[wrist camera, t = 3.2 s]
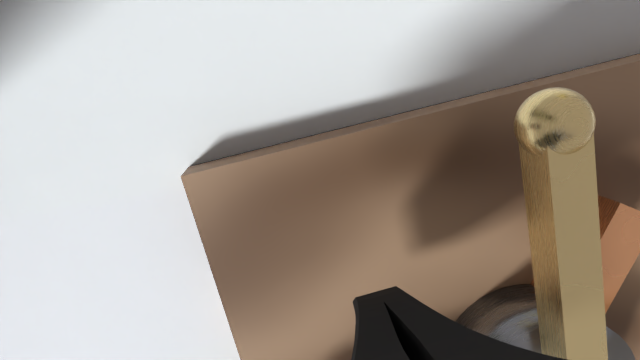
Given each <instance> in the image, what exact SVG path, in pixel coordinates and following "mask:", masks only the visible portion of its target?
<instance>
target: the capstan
mask: <svg viewBox="0 0 640 360" xmlns="http://www.w3.org/2000/svg"><path fill="white" fill-rule="evenodd" d="M595 125H596V117H595V113H594V110H593V108H592V106H591V104H590V103H589V101H588V100H587V99H586V98H585V97H584V96H583V95H581V94H579V93H578V92H576V91H574V90H571V89H567V88H560V87H555V88H547V89H543V90H540V91H538V92H536V93H534V94H532V95H531V96H529V97H528V98H527V99H526V100H525V101H524V102H523V103H522V104H521V105H520V107H519V109H518V110H517V112H516V115H515V118H514V134H515V137H516V139H517V141H518V143H519V151H520V160H521V169H522V178H523V187H524V196H525V205H526V214H527V223H528V232H529V242H530V251H531V260H532V269H533V280H532V282H531V284H518V285H511V286H507V287H503V288H500V289H498V290H495V291H493V292H491V293H489V294H486V295H485V296H483V297H481V298H480V299H478V300H477V301H475V302H474V303H473V304H472V305H470V306H469V307H468V308H467V309H466V310H465V311H464V312H463V313H462V314H461V315H460V316H459V317H458V319H457V320H456V321H455V322H457V323H459V324H461V325H463V326H465V327H467V328H469V329H471V330H474V331H476V332H478V333H481V334H483V335H486V336H488V337H491V338H494V339H496V340H499V341H501V342H504V343H507V344H510V345H513V346H517V347H520V348H523V349H527V350H530V351H534V352H537V353H541V354H545V355H549V356H553V357H558V358H563V359H568V360H636V359H635V357H634V355H633V352H632V350H631V349H630V347H629V346H628V344H627V343H626V342H625V341H624V340H623V339H622V338H621V337H620V336H619V335H618V334H617V333H615V332H614V331H612V330H611V329H610V328H608V327H607V326H606V319H605V314H606V312H607V310H608V308H609V307H610V305H611V303H612V301H613V299H614V298H615V296H616V294H617V292H618V291H619V289H620V287H621V285H622V283H623V282H624V280H625V278H626V276H627V275H628V273H629V271H630V269H631V267H632V266H633V264H634V262H635V260H636V259H637V257H638V255H639V253H640V211H639V210H636V209H634V208H632V207H629V206H627V205H624V204H622V203H619V202H616V201H614V200H611V199H608V198H605V197H602V196H599V195H598V192H597V176H596V161H595V145H594V130H595Z"/></svg>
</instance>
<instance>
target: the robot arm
mask: <svg viewBox="0 0 640 360" xmlns="http://www.w3.org/2000/svg"><path fill="white" fill-rule="evenodd" d="M353 306H354V310H355V317H356V325H355V339H354V346H353V352H352V358H351V360H568V359H563V358H558V357H553V356H549V355H545V354H541V353H537V352H534V351H530V350H527V349H523V348H520V347H517V346H513V345H510V344H507V343H504V342H501V341H499V340H496V339H494V338H491V337H488V336H486V335H483V334H481V333H478V332H476V331H474V330H471V329H469V328H467V327H465V326H463V325H461V324H459V323H457V322H455V321H453V320H451V319H449V318H447V317H445V316H444V315H442V314H440V313H438V312H437V311H435V310H433V309H431V308H430V307H428V306H427V305H425V304H423V303H422V302H420V301H419V300H417V299H415V298H414V297H412V296H411V295H409V294H408V293H406V292H405V291H403V290H402V289H400V288H398V287H397V286H394V287H391V288H387V289H383V290H380V291H376V292H373V293H369V294H366V295H362V296H358V297H355V299H354V300H353Z"/></svg>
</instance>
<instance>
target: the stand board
mask: <svg viewBox="0 0 640 360" xmlns="http://www.w3.org/2000/svg"><path fill="white" fill-rule="evenodd" d="M555 87H560V88H567V89H571V90H574V91H576V92H578V93H579V94H581V95H583V96H584V97H585V98H586V99H587V100H588V101H589V103H590V104H591V106H592V108H593V110H594V113H595V117H596V125H595V130H594V145H595V161H596V176H597V192H598V195H599V196H602V197H605V198H608V199H611V200H614V201H616V202H619V203H622V204H624V205H627V206H629V207H632V208H634V209H636V210H639V211H640V54H636V55H632V56H628V57H624V58H620V59H616V60H612V61H608V62H604V63H600V64H596V65H592V66H588V67H584V68H580V69H576V70H572V71H568V72H564V73H560V74H556V75H553V76H549V77H545V78H541V79H537V80H533V81H529V82H525V83H521V84H517V85H513V86H509V87H505V88H501V89H497V90H493V91H489V92H485V93H481V94H477V95H473V96H469V97H465V98H461V99H457V100H453V101H449V102H445V103H441V104H437V105H433V106H429V107H425V108H421V109H417V110H413V111H409V112H405V113H401V114H397V115H393V116H389V117H385V118H381V119H377V120H373V121H369V122H365V123H361V124H357V125H353V126H349V127H345V128H341V129H337V130H333V131H329V132H325V133H321V134H317V135H313V136H309V137H305V138H301V139H297V140H293V141H289V142H285V143H281V144H278V145H274V146H270V147H266V148H262V149H258V150H254V151H250V152H246V153H242V154H238V155H234V156H230V157H226V158H222V159H218V160H214V161H210V162H206V163H202V164H198V165H194V166H190V167H188V168H187V169H186V171H185V172H184V173H183V174H182V175H181V179H182V182H183V185H184V188H185V191H186V194H187V197H188V200H189V203H190V206H191V210H192V213H193V216H194V219H195V222H196V225H197V228H198V231H199V234H200V237H201V240H202V243H203V246H204V249H205V252H206V255H207V258H208V261H209V264H210V268H211V271H212V274H213V277H214V280H215V283H216V286H217V289H218V292H219V295H220V298H221V301H222V304H223V307H224V310H225V313H226V316H227V319H228V322H229V325H230V329H231V332H232V335H233V338H234V341H235V344H236V347H237V350H238V353H239V356H240V359H241V360H351V358H352V352H353V346H354V339H355V325H356V317H355V310H354V306H353V300H354V299H355V297H358V296H362V295H366V294H369V293H373V292H376V291H380V290H383V289H387V288H391V287H394V286H397V287H398V288H400V289H402V290H403V291H405V292H406V293H408V294H409V295H411V296H412V297H414V298H415V299H417V300H419V301H420V302H422V303H423V304H425V305H427V306H428V307H430V308H431V309H433V310H435V311H437V312H438V313H440V314H442V315H444V316H445V317H447V318H449V319H451V320H453V321H456V320H457V319H458V317H459V316H460V315H461V314H462V313H463V312H464V311H465V310H466V309H467V308H468V307H469V306H470V305H472V304H473V303H474V302H475V301H477V300H478V299H480V298H481V297H483V296H485V295H486V294H489V293H491V292H493V291H495V290H498V289H500V288H503V287H507V286H511V285H518V284H531V282H532V280H533V269H532V260H531V251H530V242H529V232H528V223H527V214H526V205H525V196H524V187H523V178H522V169H521V160H520V151H519V143H518V141H517V139H516V137H515V134H514V118H515V115H516V112H517V110H518V109H519V107H520V105H521V104H522V103H523V102H524V101H525V100H526V99H527V98H528V97H529V96H531V95H532V94H534V93H536V92H538V91H540V90H543V89H547V88H555ZM605 319H606V326H607V327H608V328H610V329H611V330H612V331H614V332H615V333H617V334H618V335H619V336H620V337H621V338H622V339H623V340H624V341H625V342H626V343H627V344H628V346H629V347H630V349H631V350H632V352H633V355H634V357H635V359H636V360H640V253H639V255H638V257H637V259H636V260H635V262H634V264H633V266H632V267H631V269H630V271H629V273H628V275H627V276H626V278H625V280H624V282H623V283H622V285H621V287H620V289H619V291H618V292H617V294H616V296H615V298H614V299H613V301H612V303H611V305H610V307H609V308H608V310H607V312H606V314H605Z"/></svg>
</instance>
